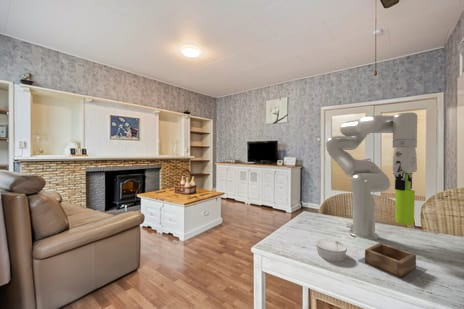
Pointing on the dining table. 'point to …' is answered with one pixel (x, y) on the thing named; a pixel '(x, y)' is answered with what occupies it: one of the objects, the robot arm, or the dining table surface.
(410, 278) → the pale grey square slab
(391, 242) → the dining table surface
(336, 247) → the ramekin
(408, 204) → the soap dispenser
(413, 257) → the walnut box
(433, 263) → the dining table surface
